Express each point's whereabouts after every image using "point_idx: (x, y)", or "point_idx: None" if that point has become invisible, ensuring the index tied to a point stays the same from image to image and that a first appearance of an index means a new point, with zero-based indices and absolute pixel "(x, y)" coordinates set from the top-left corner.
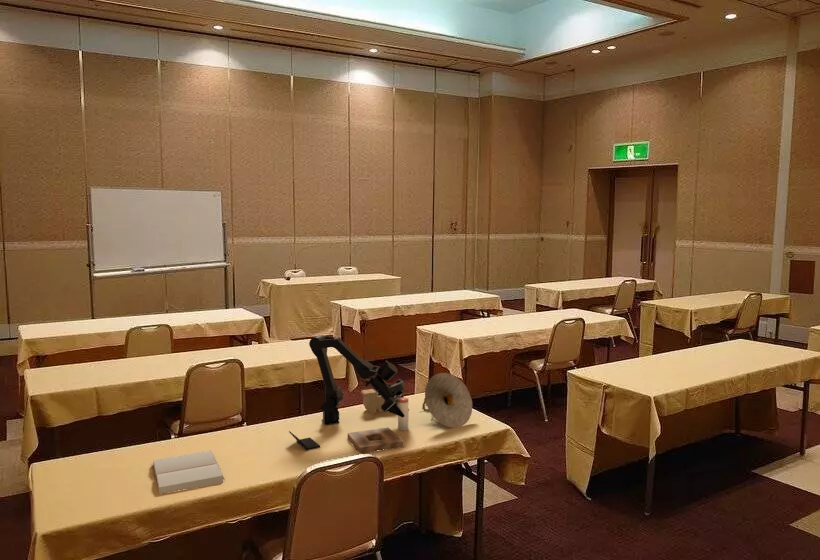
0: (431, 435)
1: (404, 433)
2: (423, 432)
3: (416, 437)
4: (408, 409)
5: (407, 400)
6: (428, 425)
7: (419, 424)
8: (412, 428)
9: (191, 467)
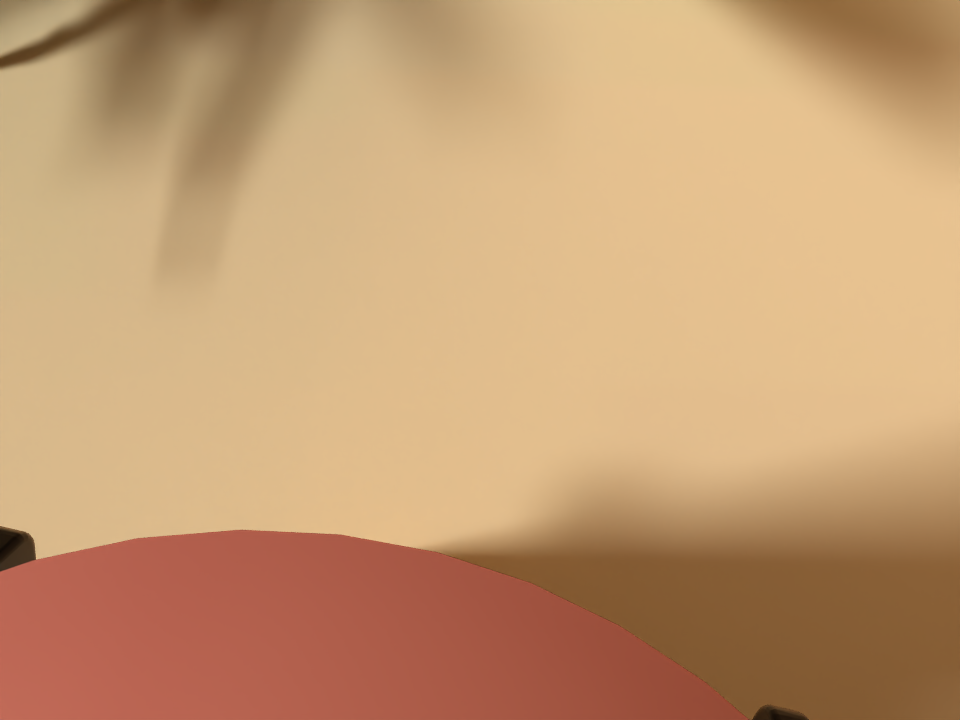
0: (781, 99)
1: (725, 640)
2: (635, 235)
3: (922, 376)
4: (5, 556)
5: (644, 647)
6: (219, 122)
7: (140, 303)
8: (400, 460)
9: None
